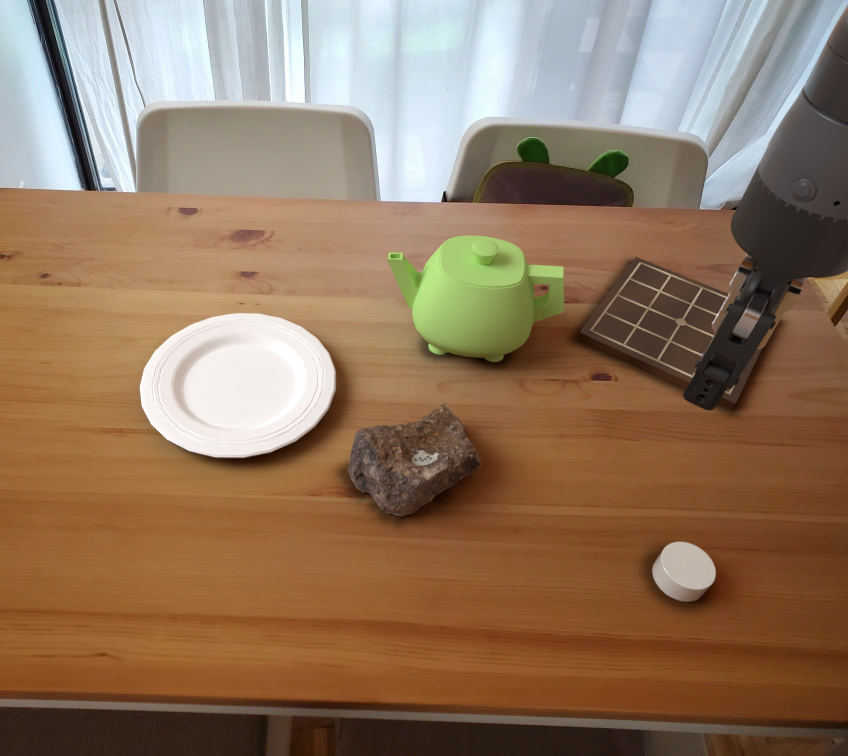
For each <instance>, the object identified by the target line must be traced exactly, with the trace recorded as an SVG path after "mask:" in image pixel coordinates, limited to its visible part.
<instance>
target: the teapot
mask: <svg viewBox="0 0 848 756" xmlns="http://www.w3.org/2000/svg"><path fill="white" fill-rule="evenodd" d="M387 263H388V265H389V267H390V270H391V273H392V275H393V276H394V278H395V281H396V283H397V286H398V288H399V290H400V292H401V294H402V296H403V298H404V300H405V303H406V305H407V307H408V308H409V309H411V316H412V321H413V324H414V327H415V329H416V331H417V332H418V334H419V335H420V336H421V337H422V339H423V340H424V341H425V342H426V343H427V344H428V349H429V351H430V352H431V353H433V354H434V355H438V356H439V355H440V356H442V355H445V354H447V353H450V354H452V355H456V356H462V357H467V358H484V359H485V361H487V362H491V363H497V362H500V361H503V359H504V357H505V355H507V354H510V353H512V352H514V351H516V350H517V349H519V348H520V347H522V346H523V345H524V344H526V341H527V340H528V339H529V337H530V335H531V331H532V328H533V324H534V323H536V322H539V321H542V320H544V319H545V320H546V319H548V318H550V317H554V316H557V315H558V314H562V313H565V277H564V275H565V274H564V273H565V272H564V270H565V269H564V266H561V265H542V264H528V261H527V259H526V256H525V254H524V252H523V250H522V249H521V248H520V247H518V246H517V245H515V244H514V243H512V242H509V241H507V240H503V239H500V238H496V237H493V236H492V237H491V236H484V235H483V236H482V235H458V236H453V237H450V238H448V239H446V240H445V241H444V242H442V244H441V245H440V246H438V248H437V249H436V250H435V251H434V253H433V254H432V255H431V256H430V258H429V259H428V260H427V262H425V265H424V267H423V269H422V270H421V271H418V270H417V269H416V268H415V267H414V265H413V264H412V263H411V262H410V261H409V260H408V258H406V256H405V255H404V252H395V251H394V252H393V251H391V252H390V251H389V252H388V254H387ZM534 285H548V293H545V294H541V295H539V296H535V288H534V287H535V286H534Z"/></svg>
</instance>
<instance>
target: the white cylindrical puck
mask: <svg viewBox="0 0 848 756" xmlns="http://www.w3.org/2000/svg"><path fill="white" fill-rule="evenodd" d="M651 572H652V578H653V581H654V582H655V584H656V585H657V587H658V589H660V590H661V591H662V593H664V594H665V595H666V596H668V597H670V598H672V599H674V600H676V601H679V602H685V603H688V602H689V603H690V602H695V601H698V600H699V599H701V598H702V597H703V595H704V594H705V593H706V592H707V591H708V590H709V588H710V587H711V586H713V584H714V583H715V580H716V577H717V570H716V566H715V563H714V561H713V560H712V558H711V556H709V554H708V553H706V551H705V550H704V549H702V548H701V547H699V546H697V545H696V544H693V543H691V542H686V541H674V542H671V543H668V544H666V546H664V548H663V549H662V551H661V552H660V553H659V554H658V556H657V558H656V559H655V561H654V562H653V565H652V571H651Z"/></svg>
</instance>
